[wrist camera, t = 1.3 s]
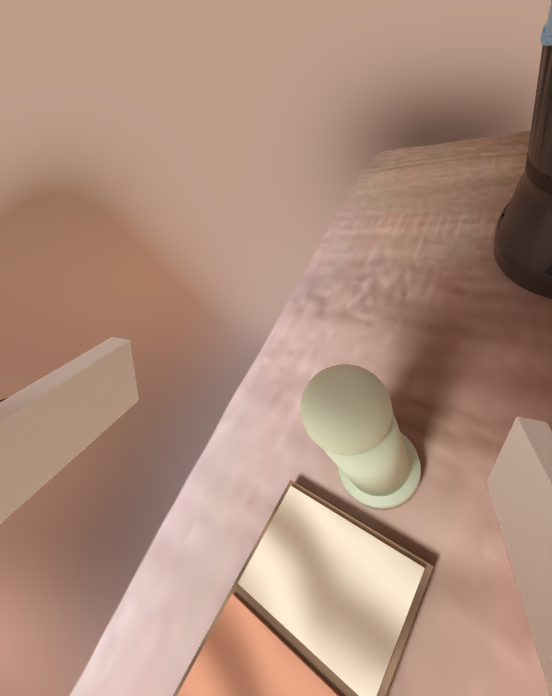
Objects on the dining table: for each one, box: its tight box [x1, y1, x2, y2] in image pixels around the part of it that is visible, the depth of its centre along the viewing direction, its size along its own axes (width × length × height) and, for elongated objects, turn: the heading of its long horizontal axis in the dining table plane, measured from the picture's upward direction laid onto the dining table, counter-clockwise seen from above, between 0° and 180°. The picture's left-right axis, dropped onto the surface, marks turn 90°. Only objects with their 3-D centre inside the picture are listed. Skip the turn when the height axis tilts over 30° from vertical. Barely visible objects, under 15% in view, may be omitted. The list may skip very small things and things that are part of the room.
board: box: [173, 480, 434, 696], centre depth 24 cm, size 18×12×1 cm, turn 146°
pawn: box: [301, 364, 421, 510], centre depth 24 cm, size 6×6×14 cm
